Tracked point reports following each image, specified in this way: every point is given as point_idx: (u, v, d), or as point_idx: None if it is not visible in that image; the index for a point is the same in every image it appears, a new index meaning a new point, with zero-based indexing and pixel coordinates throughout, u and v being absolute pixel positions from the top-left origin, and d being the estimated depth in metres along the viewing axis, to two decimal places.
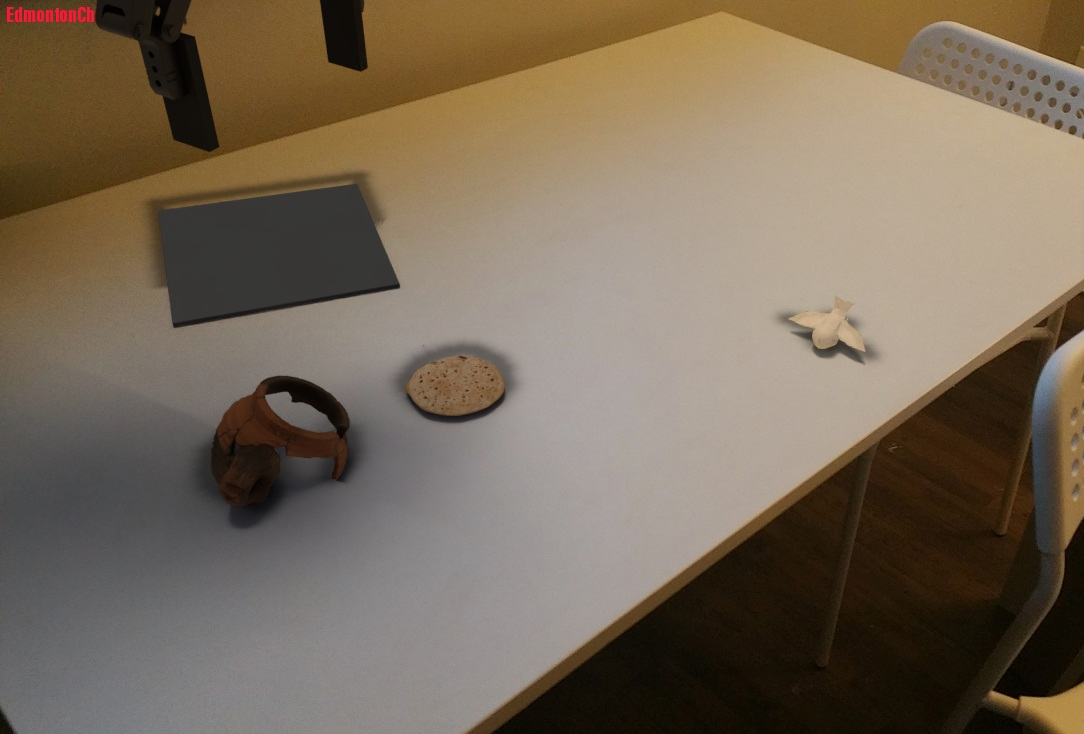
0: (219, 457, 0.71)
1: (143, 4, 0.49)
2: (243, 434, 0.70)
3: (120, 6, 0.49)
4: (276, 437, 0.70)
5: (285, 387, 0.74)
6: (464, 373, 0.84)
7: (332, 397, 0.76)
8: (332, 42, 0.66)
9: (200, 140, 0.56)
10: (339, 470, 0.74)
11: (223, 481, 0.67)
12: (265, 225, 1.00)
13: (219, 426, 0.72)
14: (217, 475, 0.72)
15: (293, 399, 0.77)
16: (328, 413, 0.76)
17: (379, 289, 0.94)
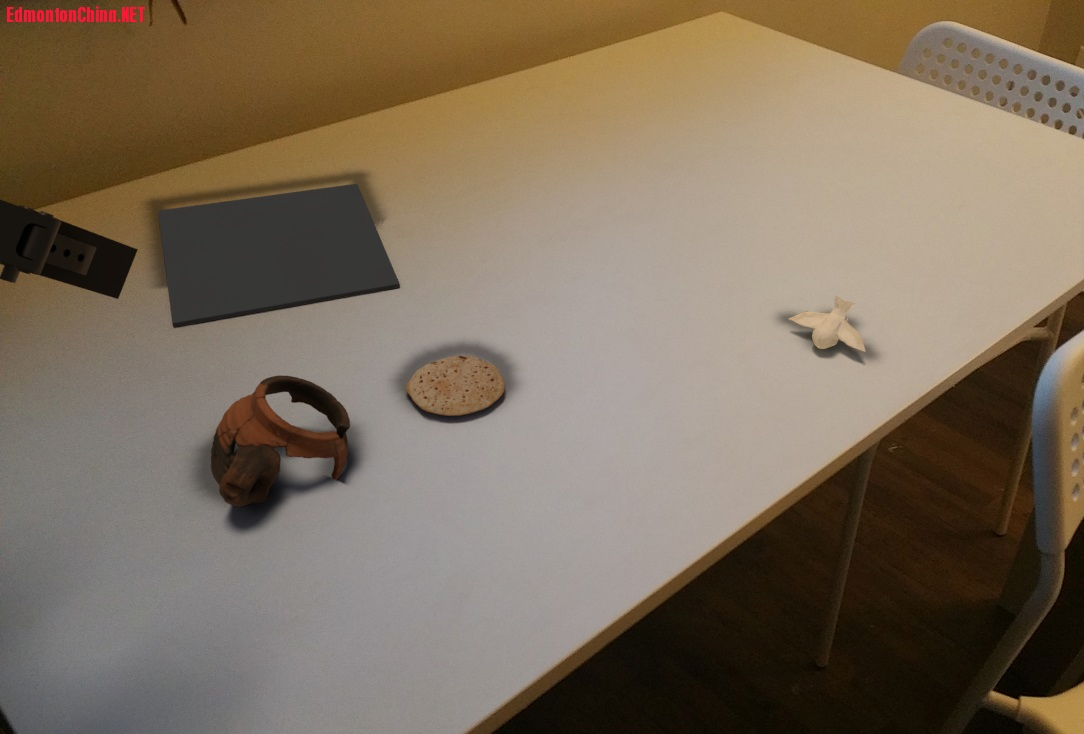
0: (219, 457, 0.71)
1: None
2: (243, 434, 0.70)
3: None
4: (276, 437, 0.70)
5: (285, 387, 0.74)
6: (464, 373, 0.84)
7: (332, 397, 0.76)
8: None
9: None
10: (339, 470, 0.74)
11: (223, 481, 0.67)
12: (265, 225, 1.00)
13: (219, 426, 0.72)
14: (217, 475, 0.72)
15: (293, 399, 0.77)
16: (328, 413, 0.76)
17: (379, 289, 0.94)
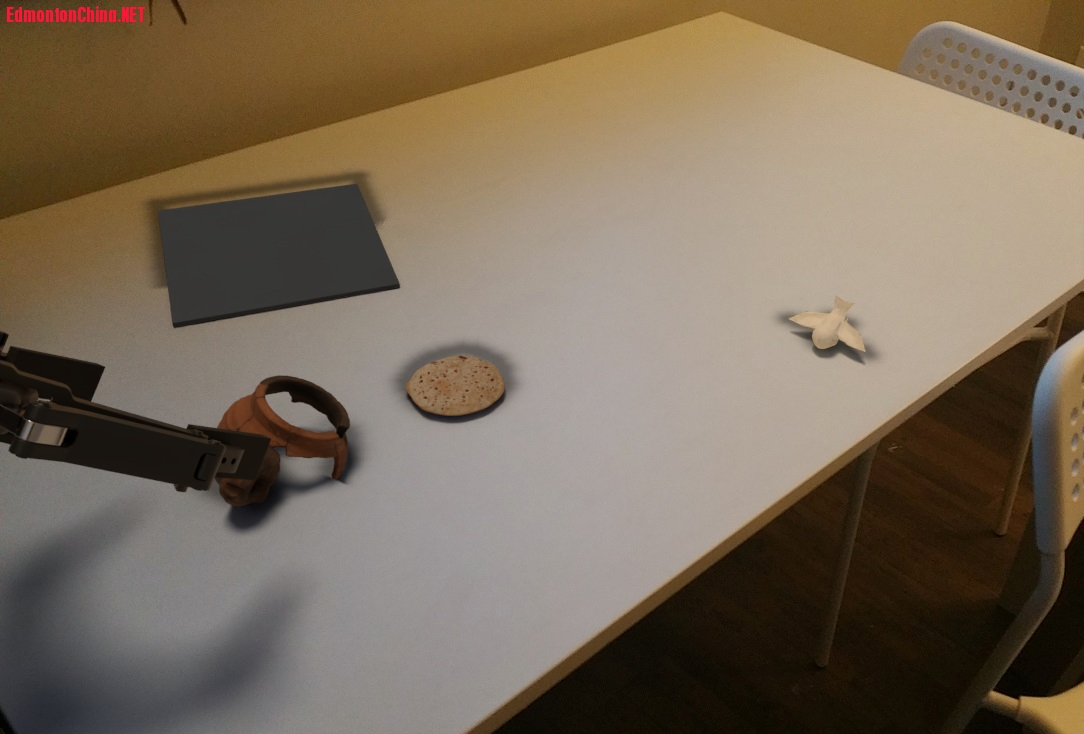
0: None
1: None
2: None
3: None
4: (276, 437, 0.70)
5: (285, 387, 0.74)
6: (464, 373, 0.84)
7: (332, 397, 0.76)
8: None
9: None
10: (339, 469, 0.74)
11: (223, 481, 0.67)
12: (265, 225, 1.00)
13: (219, 426, 0.72)
14: None
15: (293, 399, 0.77)
16: (328, 413, 0.76)
17: (379, 289, 0.94)
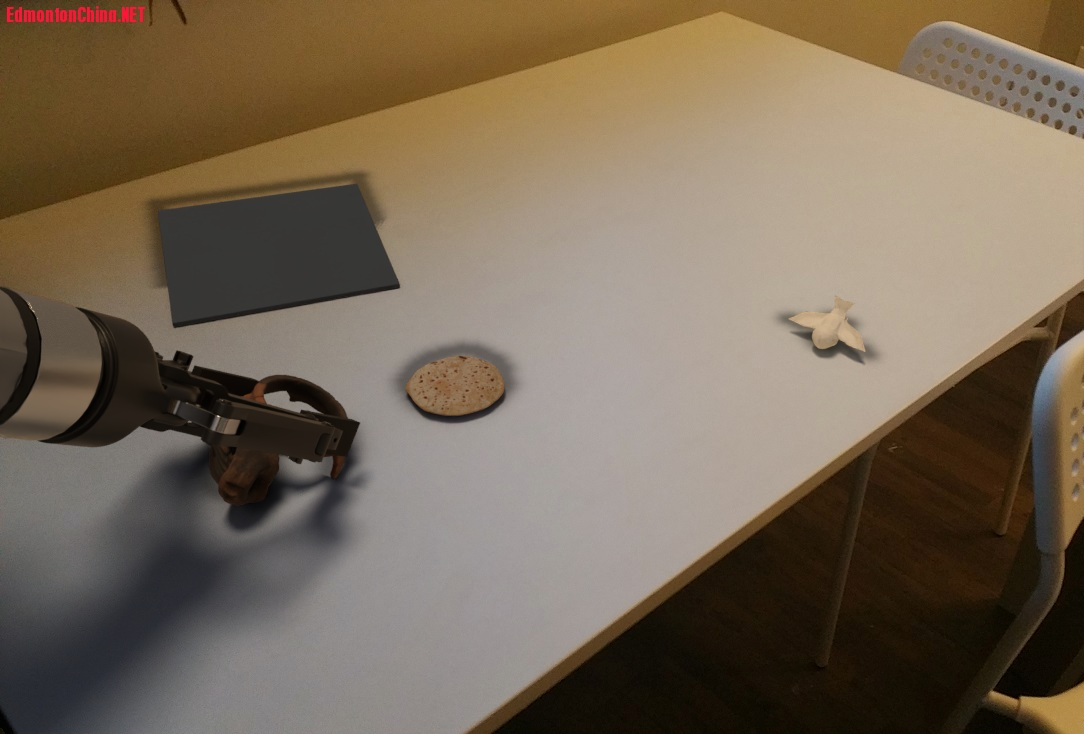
0: (218, 456, 0.71)
1: None
2: None
3: None
4: None
5: (284, 387, 0.74)
6: (464, 373, 0.84)
7: (331, 396, 0.76)
8: None
9: None
10: (337, 468, 0.74)
11: (222, 480, 0.67)
12: (265, 225, 1.00)
13: None
14: (216, 474, 0.72)
15: (291, 398, 0.77)
16: (326, 412, 0.76)
17: (379, 289, 0.94)
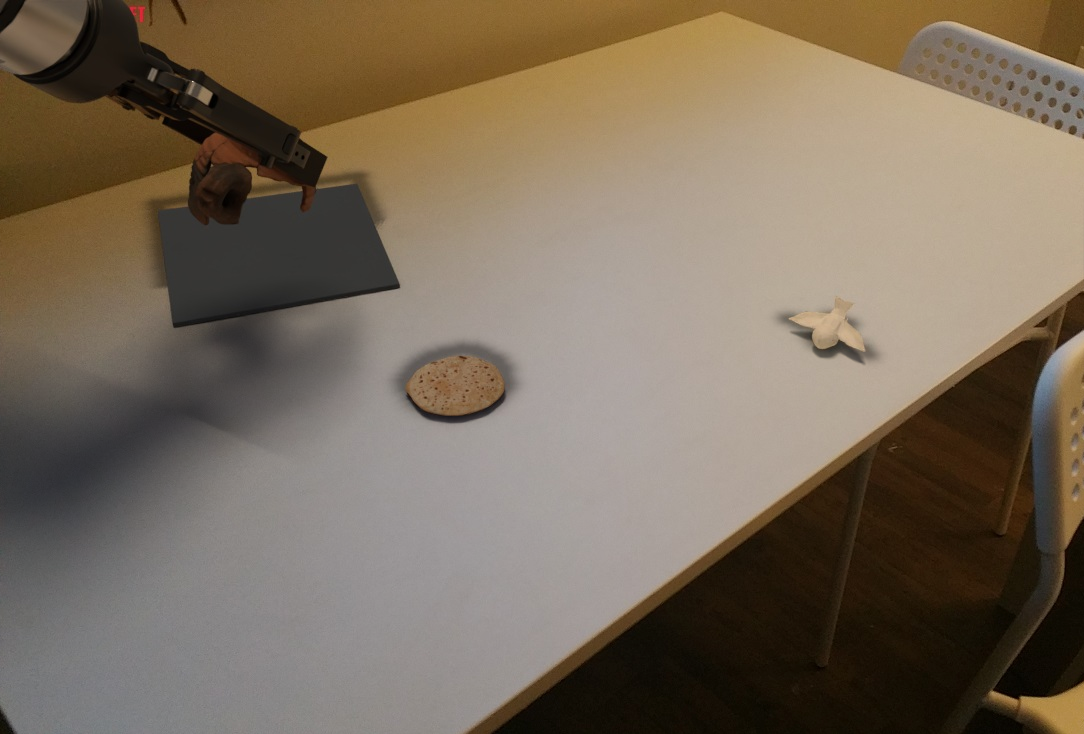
0: (196, 180, 0.78)
1: (116, 101, 0.74)
2: (218, 154, 0.76)
3: None
4: (248, 157, 0.76)
5: None
6: (464, 373, 0.84)
7: None
8: None
9: None
10: (307, 201, 0.80)
11: (199, 187, 0.74)
12: (265, 225, 1.00)
13: (196, 154, 0.78)
14: (194, 198, 0.78)
15: None
16: None
17: (379, 289, 0.94)
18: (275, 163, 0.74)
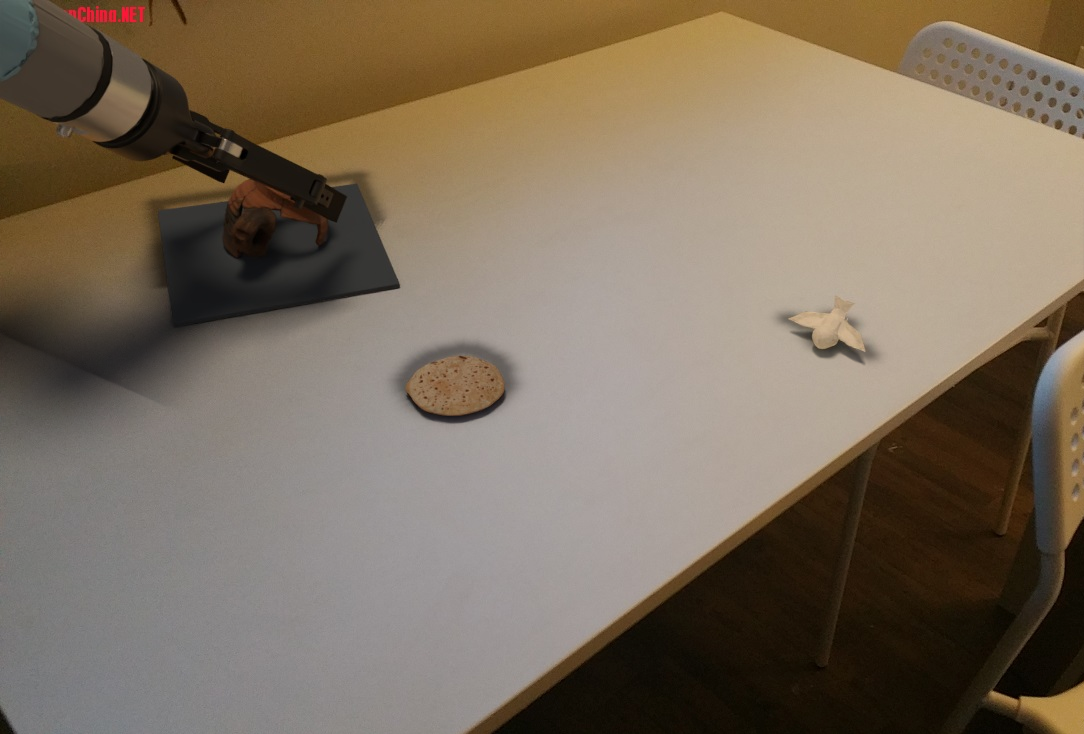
0: (230, 220, 0.94)
1: None
2: (248, 199, 0.92)
3: None
4: (273, 202, 0.93)
5: None
6: (464, 373, 0.84)
7: None
8: None
9: None
10: (321, 237, 0.97)
11: (234, 228, 0.90)
12: None
13: (229, 199, 0.94)
14: (228, 236, 0.94)
15: None
16: None
17: (379, 289, 0.94)
18: (304, 204, 0.88)
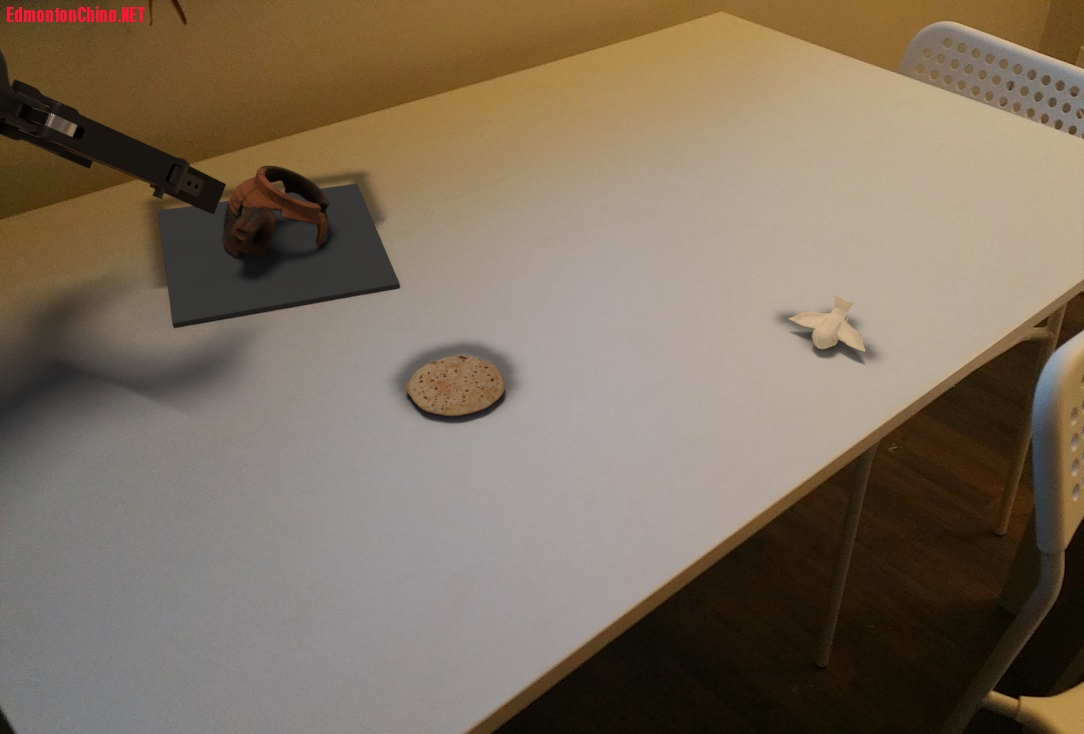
0: (230, 220, 0.94)
1: None
2: (248, 199, 0.92)
3: None
4: (273, 202, 0.93)
5: (280, 176, 0.97)
6: (464, 373, 0.84)
7: (316, 185, 0.98)
8: None
9: None
10: (321, 237, 0.97)
11: (234, 228, 0.90)
12: None
13: (229, 199, 0.94)
14: (228, 236, 0.94)
15: (286, 189, 0.99)
16: (313, 198, 0.99)
17: (379, 289, 0.94)
18: (168, 193, 0.76)
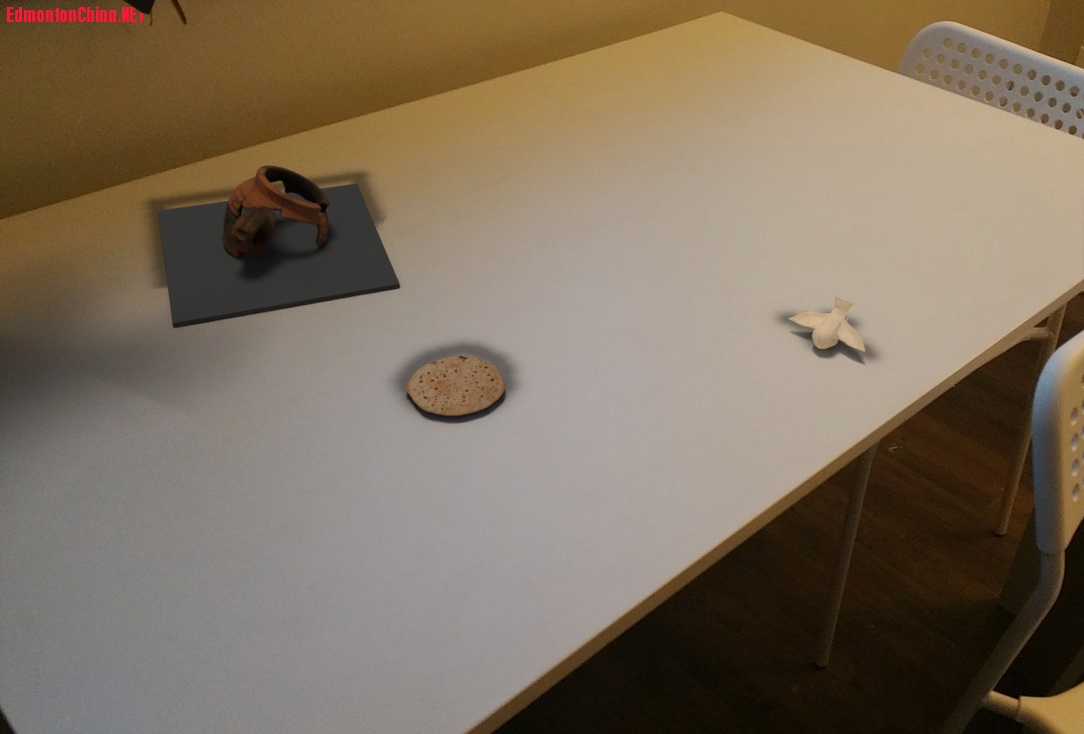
0: (230, 220, 0.94)
1: None
2: (248, 199, 0.92)
3: None
4: (273, 202, 0.93)
5: (280, 176, 0.97)
6: (464, 373, 0.84)
7: (316, 185, 0.98)
8: None
9: None
10: (321, 237, 0.97)
11: (234, 228, 0.90)
12: None
13: (229, 199, 0.94)
14: (228, 236, 0.94)
15: (286, 189, 0.99)
16: (313, 198, 0.99)
17: (379, 289, 0.94)
18: None
